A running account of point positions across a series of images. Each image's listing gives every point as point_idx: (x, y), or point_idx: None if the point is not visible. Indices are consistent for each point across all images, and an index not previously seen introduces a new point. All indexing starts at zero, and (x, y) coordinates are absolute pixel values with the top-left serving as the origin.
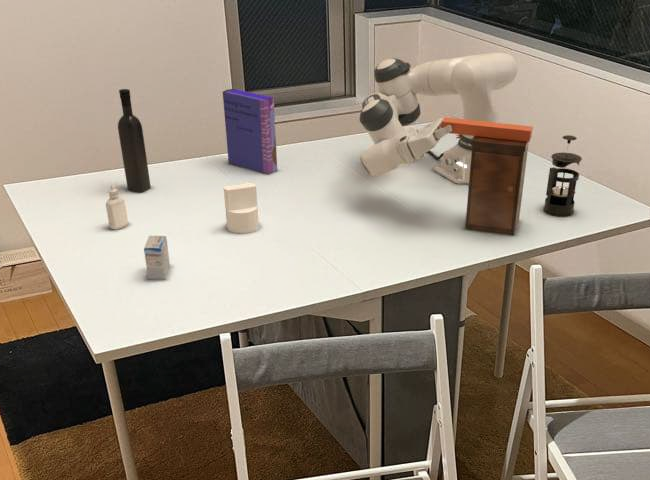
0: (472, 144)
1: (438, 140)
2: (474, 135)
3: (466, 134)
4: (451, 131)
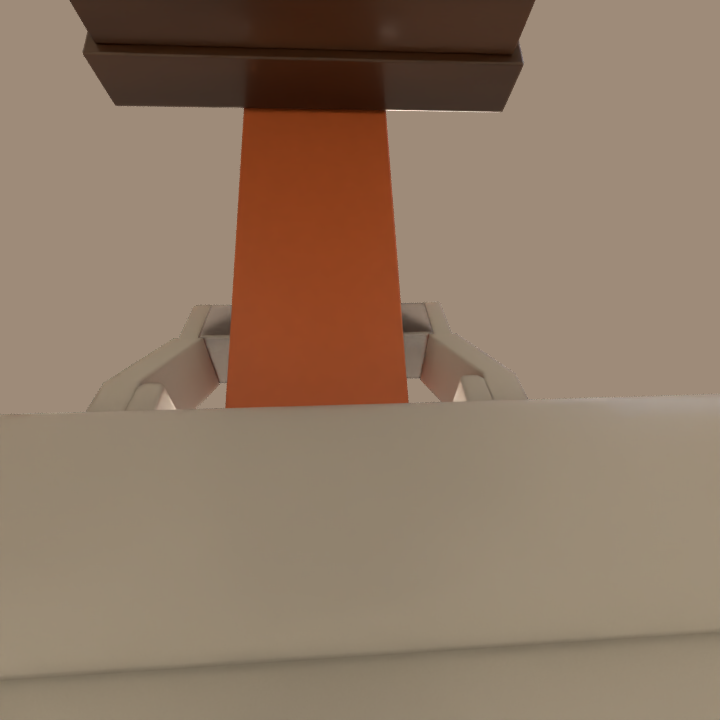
0: (94, 58)
1: (85, 413)
2: (245, 112)
3: (242, 172)
4: (193, 308)
